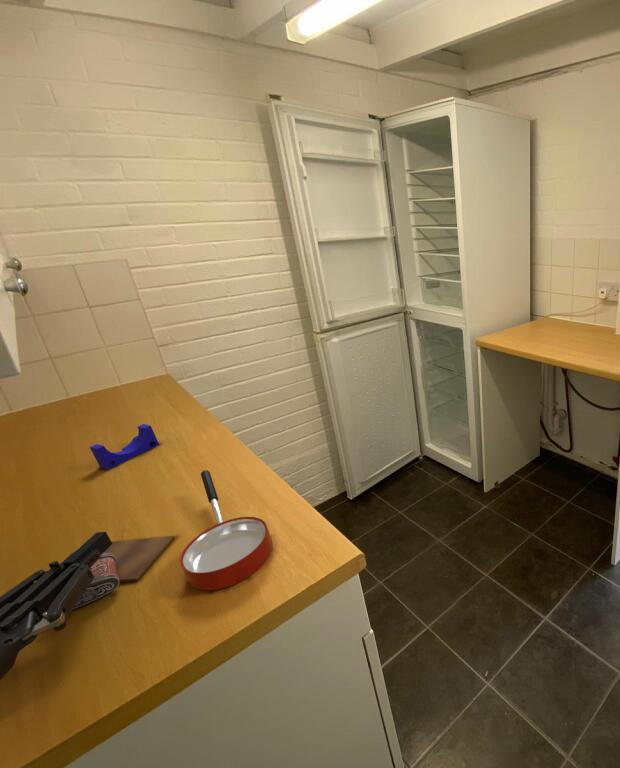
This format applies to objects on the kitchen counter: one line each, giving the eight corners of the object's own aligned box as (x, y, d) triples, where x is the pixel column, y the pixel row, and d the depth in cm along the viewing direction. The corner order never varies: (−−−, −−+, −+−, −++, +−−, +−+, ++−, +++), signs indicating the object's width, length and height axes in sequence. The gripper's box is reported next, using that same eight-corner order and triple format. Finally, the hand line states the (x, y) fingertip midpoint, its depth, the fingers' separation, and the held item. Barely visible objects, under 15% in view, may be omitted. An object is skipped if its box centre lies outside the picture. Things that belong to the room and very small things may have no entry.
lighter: (122, 588, 70) (117, 556, 76) (115, 572, 69) (110, 541, 75) (53, 618, 65) (53, 581, 71) (45, 601, 63) (46, 565, 70)
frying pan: (163, 514, 87) (151, 490, 84) (233, 485, 95) (224, 462, 93) (198, 606, 66) (184, 578, 64) (284, 558, 75) (274, 531, 72)
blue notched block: (148, 442, 115) (140, 423, 113) (159, 444, 114) (150, 425, 111) (96, 466, 105) (85, 446, 102) (107, 469, 103) (96, 449, 101)
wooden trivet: (62, 588, 71) (61, 586, 70) (109, 544, 80) (107, 542, 79) (138, 580, 72) (136, 578, 71) (175, 538, 81) (174, 535, 80)
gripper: (-95, 712, 50) (73, 559, 71) (24, 697, 51) (154, 550, 73) (-137, 673, 47) (51, 525, 68) (-10, 657, 48) (136, 516, 69)
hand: (104, 538), depth 70 cm, fingers closed
